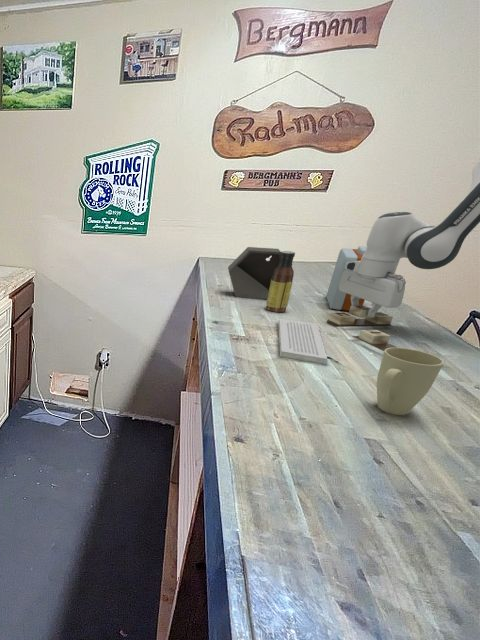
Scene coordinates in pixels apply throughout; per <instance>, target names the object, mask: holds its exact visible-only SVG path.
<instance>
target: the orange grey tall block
mask: <svg viewBox="0 0 480 640" xmlns="http://www.w3.org/2000/svg"><path fill="white" fill-rule="evenodd" d="M366 248H367V246H360V245H359V246H358V247H357V248H347V247H343V248H341V249H340V250H339V252H338V256H337V259H336V262H335V265H334V269H333V272H332V275H331V279H330V281H329V286H328V289H327V292H326V299H327V302H328V306H329V309H331V310H336V311H337V310H339V311H345V312H349V310H350V307H351V306H352V304H351V295H350V294H348V293H345V292H342V291H340V290H339V283H340V279H341V277H342V274H343V272H344V271H345V270H347V269H345V264H346V263H347V262H353V261H361V258H362V256H363V254H364V253H365V251H366ZM365 301H366V300H364V299H362V298H360V299H359V305H360V306H364V303H365Z"/></svg>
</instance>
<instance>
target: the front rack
mask: <svg viewBox="0 0 480 640" xmlns="http://www.w3.org/2000/svg"><path fill="white" fill-rule="evenodd" d="M351 337H353V338H354V339H357V340H358V341H360V342H363V343H365V344H368V345H370V346H371V347H374V348H376V349H378V350H380V351H381V352H384V351H385V349H387V348H399V347H398V346H396V345H394V344H391V343H390V342H389V340H390V337H391V335H390V334H388V333H385V332H383V331H380V330H378V329H361V330H360V332H359V335H352V336H351Z"/></svg>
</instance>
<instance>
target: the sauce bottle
mask: <svg viewBox="0 0 480 640" xmlns="http://www.w3.org/2000/svg"><path fill="white" fill-rule="evenodd" d="M295 256H296V252H295V251H291V250H283V251H281V254H280V261H279V265H278V266H277V268H276V269H275V271H274V273H273V276H272V279H271V284H270V289H269V294H268V298H267V299H266V302H265V304H266V307H265V308H266V310H267V311H270V312H273V313H275V312H276V313H284V312H286V311H287V307H288V304H289V301H290V296H291V290H292V288H293V287H292V286H293V280H294V276H295V274H294V273H295V272H294V269H293V262H294V258H295Z"/></svg>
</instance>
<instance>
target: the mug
mask: <svg viewBox="0 0 480 640" xmlns="http://www.w3.org/2000/svg"><path fill="white" fill-rule="evenodd" d="M444 364H445V361H444V360H443V359H442V358H440V357H439V356H437V355H434V354H432V353H429V352H426V351H423V350H419V349H413V348H406V347H398V348H387V349H385V351H383V354H382V358H381V361H380V366H379V369H378V373H377V377H376V399H377V403H376V404H377V408H378V409H380V410H381V411H382V412H385V413H388V414H391V415H397V416H406V415H408V413H409V412H411V411H412V410H413V409H414V408H415V407H416V405H417V404H418V403H420V401H421V400H422V399H424V398H425V396H426V395H427V394H428V393H429V391H430V389H431V388H432V386H433V384H434V383H435V381H436V379H437V377H438V375H439V373H440V372H441V370H442V367H443V366H444Z"/></svg>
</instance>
